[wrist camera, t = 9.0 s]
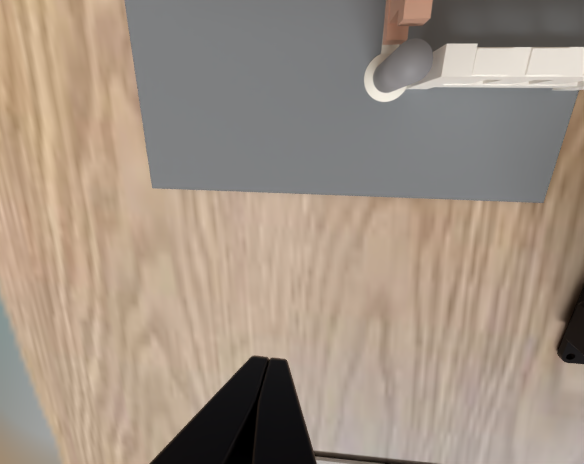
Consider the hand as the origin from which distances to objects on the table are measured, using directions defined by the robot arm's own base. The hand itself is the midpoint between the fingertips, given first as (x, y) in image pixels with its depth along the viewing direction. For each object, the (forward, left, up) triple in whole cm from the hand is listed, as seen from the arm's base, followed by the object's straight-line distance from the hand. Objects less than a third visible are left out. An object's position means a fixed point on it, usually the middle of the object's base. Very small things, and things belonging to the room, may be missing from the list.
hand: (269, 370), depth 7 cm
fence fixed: (-9, -8, -12) cm, 16 cm away
